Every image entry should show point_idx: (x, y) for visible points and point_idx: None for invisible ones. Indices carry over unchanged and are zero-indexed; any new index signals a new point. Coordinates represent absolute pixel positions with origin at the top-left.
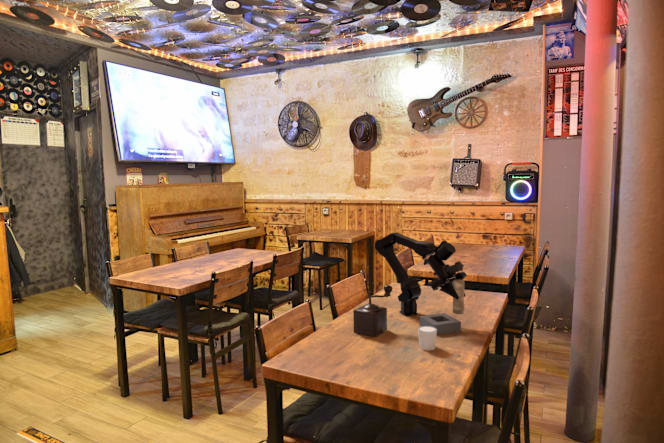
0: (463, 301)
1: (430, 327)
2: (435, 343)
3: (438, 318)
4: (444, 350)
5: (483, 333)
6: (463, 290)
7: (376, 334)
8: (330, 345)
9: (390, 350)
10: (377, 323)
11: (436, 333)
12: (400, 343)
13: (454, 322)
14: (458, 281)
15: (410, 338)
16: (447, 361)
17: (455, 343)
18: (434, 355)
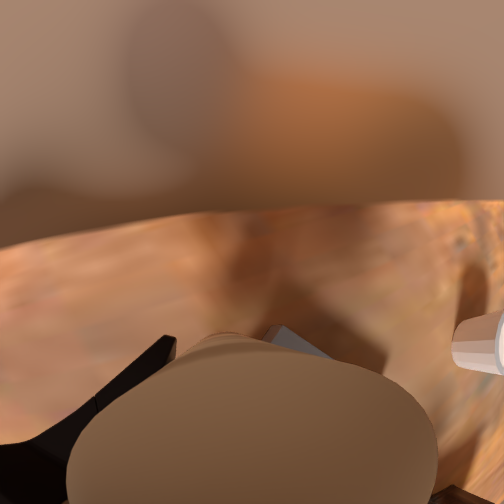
0: (237, 334)
1: (500, 344)
2: (475, 317)
3: None
4: (459, 290)
5: (236, 226)
6: (260, 341)
7: (452, 488)
8: (499, 481)
9: (500, 396)
10: (467, 501)
11: (500, 310)
12: (470, 415)
13: (315, 350)
14: (393, 488)
15: (435, 427)
16: (489, 254)
17: (406, 286)
18: (486, 296)
